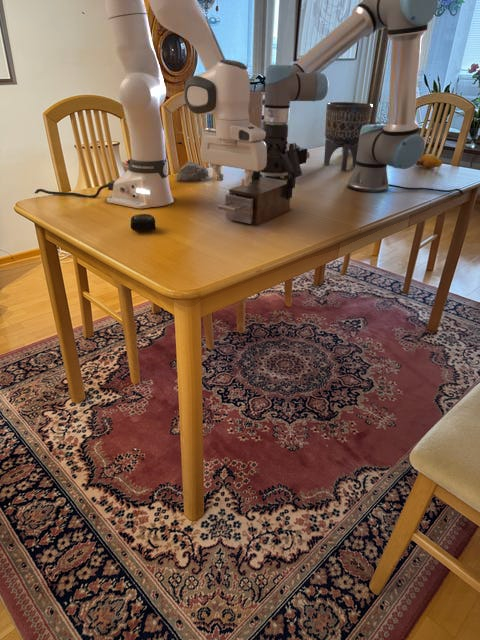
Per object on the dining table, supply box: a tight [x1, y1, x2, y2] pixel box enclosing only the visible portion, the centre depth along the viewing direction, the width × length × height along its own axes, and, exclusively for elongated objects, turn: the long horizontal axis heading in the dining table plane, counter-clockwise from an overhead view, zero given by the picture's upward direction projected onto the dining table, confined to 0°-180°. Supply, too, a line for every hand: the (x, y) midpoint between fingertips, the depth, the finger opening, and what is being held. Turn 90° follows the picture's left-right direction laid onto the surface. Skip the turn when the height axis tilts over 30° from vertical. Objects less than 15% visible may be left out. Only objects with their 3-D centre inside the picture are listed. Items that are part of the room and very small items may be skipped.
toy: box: [415, 153, 443, 170], centre depth 212 cm, size 11×6×15 cm
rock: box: [176, 160, 210, 183], centre depth 181 cm, size 13×9×6 cm, turn 131°
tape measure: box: [130, 213, 156, 233], centre depth 129 cm, size 7×7×4 cm
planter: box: [323, 101, 374, 172], centre depth 204 cm, size 20×20×26 cm
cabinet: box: [228, 176, 291, 226], centre depth 143 cm, size 20×10×9 cm, turn 145°
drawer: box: [217, 193, 255, 225], centre depth 138 cm, size 25×9×7 cm, turn 145°
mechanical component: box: [260, 144, 311, 179], centre depth 191 cm, size 22×21×30 cm
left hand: (232, 183), depth 127 cm, fingers open, 8 cm apart
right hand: (272, 195), depth 148 cm, fingers open, 12 cm apart
